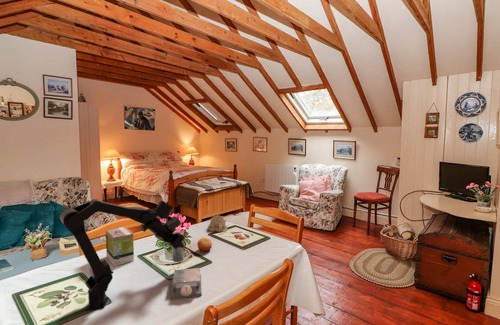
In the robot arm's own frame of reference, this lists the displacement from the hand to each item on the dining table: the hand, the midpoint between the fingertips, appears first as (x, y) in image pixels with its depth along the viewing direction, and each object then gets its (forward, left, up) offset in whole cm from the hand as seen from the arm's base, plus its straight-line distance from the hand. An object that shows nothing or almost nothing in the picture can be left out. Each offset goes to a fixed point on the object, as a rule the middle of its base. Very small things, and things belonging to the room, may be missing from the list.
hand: (180, 245), depth 126 cm
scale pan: (-12, -3, -11) cm, 17 cm away
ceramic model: (+57, -22, -14) cm, 63 cm away
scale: (-13, -3, -13) cm, 19 cm away
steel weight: (-1, +1, -7) cm, 7 cm away
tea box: (+21, +32, -14) cm, 41 cm away
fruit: (+23, -12, -14) cm, 29 cm away
